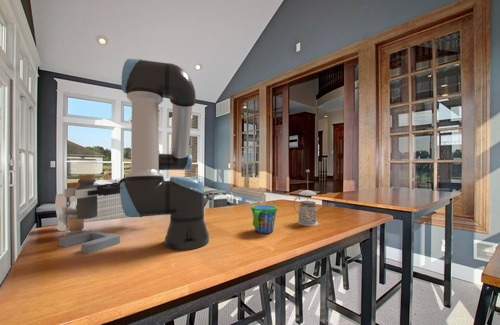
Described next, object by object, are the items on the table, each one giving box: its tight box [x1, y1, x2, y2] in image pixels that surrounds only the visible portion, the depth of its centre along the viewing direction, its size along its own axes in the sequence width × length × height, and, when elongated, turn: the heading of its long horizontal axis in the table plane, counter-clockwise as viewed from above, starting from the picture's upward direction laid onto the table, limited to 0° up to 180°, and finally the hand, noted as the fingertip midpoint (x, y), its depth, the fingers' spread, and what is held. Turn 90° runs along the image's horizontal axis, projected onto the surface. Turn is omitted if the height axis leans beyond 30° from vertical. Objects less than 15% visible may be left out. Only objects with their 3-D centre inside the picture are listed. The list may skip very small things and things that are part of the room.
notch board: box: [58, 229, 121, 255], centre depth 82 cm, size 17×10×2 cm, turn 65°
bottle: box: [76, 173, 98, 220], centre depth 82 cm, size 6×6×15 cm
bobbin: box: [64, 207, 87, 237], centre depth 91 cm, size 7×7×10 cm
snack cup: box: [250, 204, 278, 234], centre depth 96 cm, size 16×10×10 cm
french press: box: [292, 169, 319, 227], centre depth 109 cm, size 10×12×25 cm
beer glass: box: [54, 193, 77, 232], centre depth 99 cm, size 7×7×15 cm
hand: (70, 193), depth 77 cm, fingers closed on bottle, 6 cm apart
